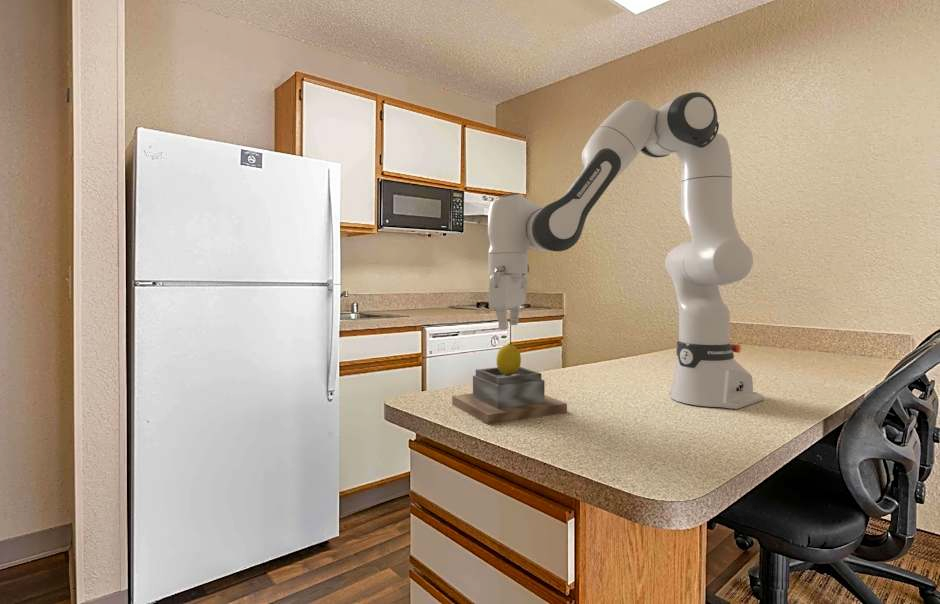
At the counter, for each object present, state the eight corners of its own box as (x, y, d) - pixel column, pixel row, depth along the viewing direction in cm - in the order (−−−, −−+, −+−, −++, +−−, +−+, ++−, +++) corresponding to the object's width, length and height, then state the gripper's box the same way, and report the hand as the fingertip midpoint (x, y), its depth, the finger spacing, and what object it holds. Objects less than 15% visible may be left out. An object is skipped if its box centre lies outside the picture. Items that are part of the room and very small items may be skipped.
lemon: (512, 381, 110) (514, 346, 109) (490, 377, 113) (493, 342, 113) (523, 377, 115) (526, 343, 114) (503, 373, 118) (505, 340, 117)
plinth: (523, 394, 127) (523, 361, 126) (566, 412, 111) (567, 374, 110) (452, 404, 118) (452, 368, 118) (487, 424, 102) (487, 383, 101)
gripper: (509, 265, 102) (511, 333, 103) (530, 266, 121) (531, 322, 122) (480, 266, 104) (481, 332, 105) (505, 267, 123) (506, 322, 124)
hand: (508, 327), depth 113 cm, fingers open, 8 cm apart
